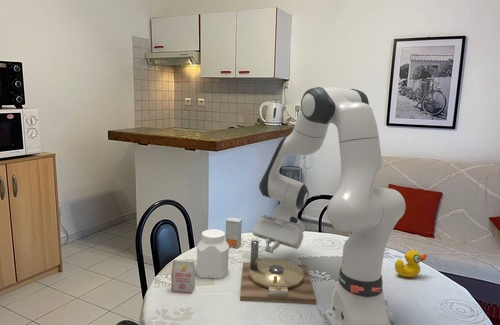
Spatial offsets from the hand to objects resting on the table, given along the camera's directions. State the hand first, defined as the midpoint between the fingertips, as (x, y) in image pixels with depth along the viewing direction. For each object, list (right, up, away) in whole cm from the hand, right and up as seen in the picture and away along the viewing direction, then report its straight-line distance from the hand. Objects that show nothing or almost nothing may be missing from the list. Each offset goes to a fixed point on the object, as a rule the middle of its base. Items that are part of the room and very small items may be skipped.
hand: (268, 251), depth 134 cm
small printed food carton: (-29, -9, -15) cm, 34 cm away
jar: (-20, -7, -2) cm, 22 cm away
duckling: (+52, -10, +1) cm, 53 cm away
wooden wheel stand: (+2, -9, -8) cm, 12 cm away
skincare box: (-14, -3, +23) cm, 27 cm away
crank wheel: (+2, -7, -6) cm, 10 cm away
